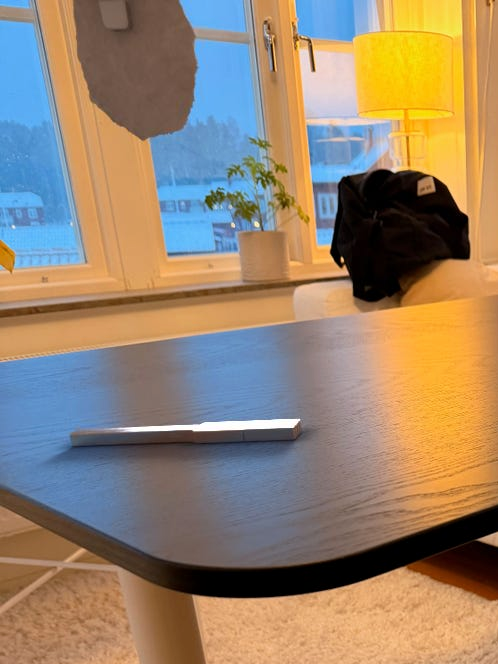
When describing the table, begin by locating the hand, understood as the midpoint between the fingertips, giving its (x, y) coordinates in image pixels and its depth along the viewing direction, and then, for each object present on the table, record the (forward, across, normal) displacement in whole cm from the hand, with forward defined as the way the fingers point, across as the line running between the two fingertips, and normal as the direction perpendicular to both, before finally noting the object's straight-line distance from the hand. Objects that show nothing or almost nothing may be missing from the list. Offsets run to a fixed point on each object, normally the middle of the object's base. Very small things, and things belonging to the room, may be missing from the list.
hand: (127, 34), depth 69 cm
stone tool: (+8, 0, -1) cm, 8 cm away
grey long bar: (+29, -13, -3) cm, 32 cm away
